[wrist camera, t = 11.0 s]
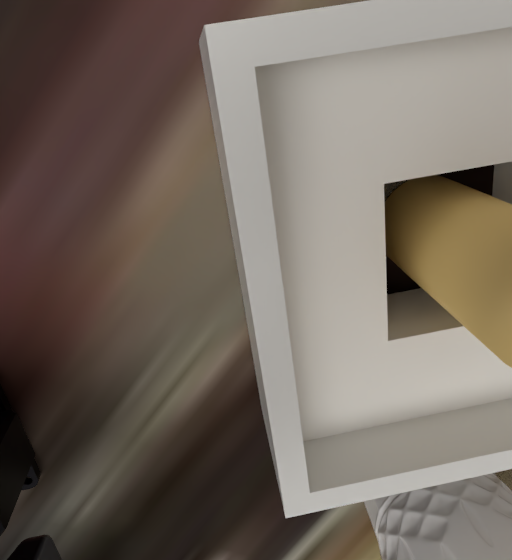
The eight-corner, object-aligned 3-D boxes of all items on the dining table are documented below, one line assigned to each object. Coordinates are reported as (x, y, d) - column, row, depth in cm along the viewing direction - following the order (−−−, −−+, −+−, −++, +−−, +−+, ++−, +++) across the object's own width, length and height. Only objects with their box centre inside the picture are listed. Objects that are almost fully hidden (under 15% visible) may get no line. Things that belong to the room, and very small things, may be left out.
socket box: (262, 410, 23) (285, 518, 17) (198, 41, 16) (203, 24, 10) (574, 347, 24) (690, 430, 18) (638, -26, 17) (851, -72, 11)
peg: (377, 274, 20) (484, 385, 13) (374, 184, 19) (495, 254, 12) (465, 257, 21) (616, 358, 13) (470, 167, 19) (646, 225, 12)
